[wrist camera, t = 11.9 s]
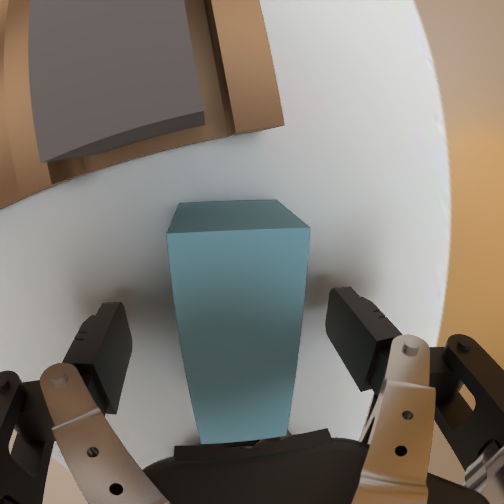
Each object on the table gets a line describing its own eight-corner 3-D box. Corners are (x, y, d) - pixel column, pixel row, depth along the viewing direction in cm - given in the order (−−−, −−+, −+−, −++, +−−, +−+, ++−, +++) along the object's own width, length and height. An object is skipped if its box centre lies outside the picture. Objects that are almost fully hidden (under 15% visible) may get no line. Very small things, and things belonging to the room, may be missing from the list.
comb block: (259, 130, 10) (284, 125, 7) (-25, 221, 9) (-70, 246, 6) (212, -90, 5) (217, -134, 2) (-35, 15, 4) (-71, 4, 1)
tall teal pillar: (268, 375, 14) (286, 435, 11) (198, 380, 14) (201, 444, 10) (275, 198, 11) (310, 227, 7) (179, 202, 11) (166, 233, 7)
